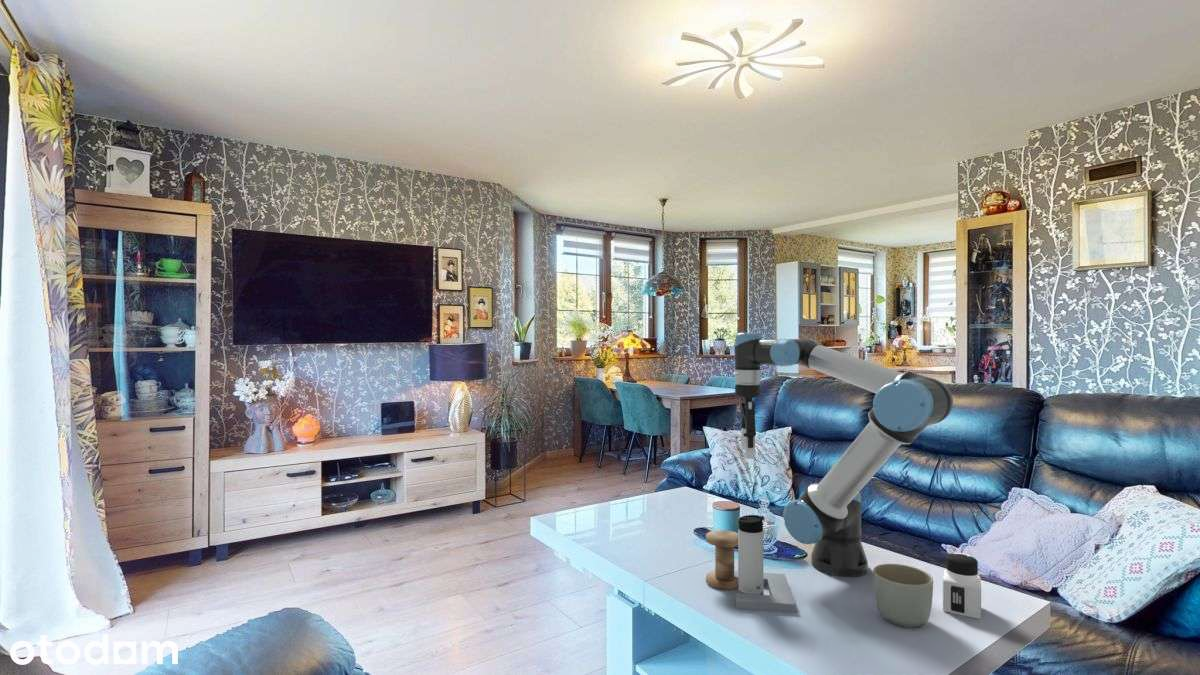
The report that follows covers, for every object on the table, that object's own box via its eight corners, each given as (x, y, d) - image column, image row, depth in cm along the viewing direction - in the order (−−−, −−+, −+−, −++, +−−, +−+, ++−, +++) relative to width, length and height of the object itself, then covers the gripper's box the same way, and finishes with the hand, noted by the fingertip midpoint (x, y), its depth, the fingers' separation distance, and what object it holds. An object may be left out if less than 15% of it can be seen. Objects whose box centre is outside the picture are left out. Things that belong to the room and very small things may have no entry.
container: (981, 620, 136) (981, 564, 136) (942, 611, 140) (942, 557, 140) (980, 606, 143) (980, 553, 143) (943, 599, 147) (943, 547, 147)
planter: (907, 638, 128) (907, 589, 128) (861, 613, 139) (861, 568, 139) (945, 627, 133) (945, 579, 133) (898, 604, 144) (898, 560, 144)
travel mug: (765, 600, 147) (765, 520, 147) (738, 597, 148) (738, 519, 148) (763, 589, 153) (763, 513, 153) (738, 587, 154) (737, 511, 154)
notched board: (784, 581, 158) (784, 573, 158) (795, 612, 140) (795, 604, 140) (731, 578, 160) (731, 570, 160) (736, 608, 142) (736, 600, 142)
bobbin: (742, 575, 162) (742, 531, 162) (745, 591, 152) (745, 543, 152) (705, 573, 163) (705, 529, 163) (706, 588, 153) (706, 541, 153)
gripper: (732, 380, 189) (732, 445, 189) (738, 387, 165) (738, 462, 165) (755, 380, 188) (756, 446, 188) (765, 387, 164) (766, 463, 164)
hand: (747, 453), depth 177 cm, fingers open, 13 cm apart
